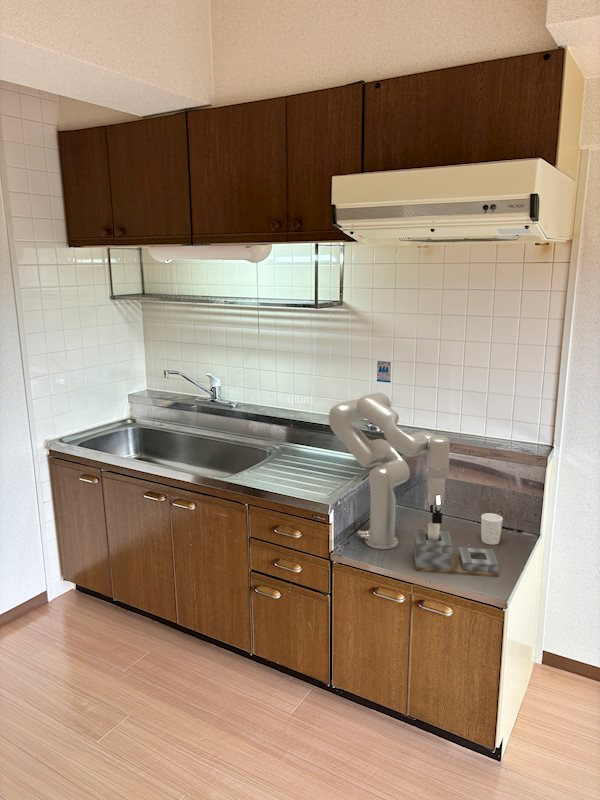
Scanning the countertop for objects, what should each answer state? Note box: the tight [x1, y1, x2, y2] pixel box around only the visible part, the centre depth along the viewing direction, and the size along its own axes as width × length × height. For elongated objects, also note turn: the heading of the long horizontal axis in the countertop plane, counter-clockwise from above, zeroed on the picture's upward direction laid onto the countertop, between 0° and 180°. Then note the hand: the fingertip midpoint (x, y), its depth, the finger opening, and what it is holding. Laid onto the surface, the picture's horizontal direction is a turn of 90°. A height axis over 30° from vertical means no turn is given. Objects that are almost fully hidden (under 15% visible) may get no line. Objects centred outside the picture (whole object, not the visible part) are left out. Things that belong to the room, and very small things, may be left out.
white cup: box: [480, 512, 504, 546], centre depth 237 cm, size 8×8×10 cm
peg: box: [427, 521, 441, 541], centre depth 218 cm, size 4×4×8 cm
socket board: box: [413, 528, 499, 578], centre depth 218 cm, size 28×14×10 cm, turn 82°
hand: (435, 517), depth 216 cm, fingers open, 9 cm apart
